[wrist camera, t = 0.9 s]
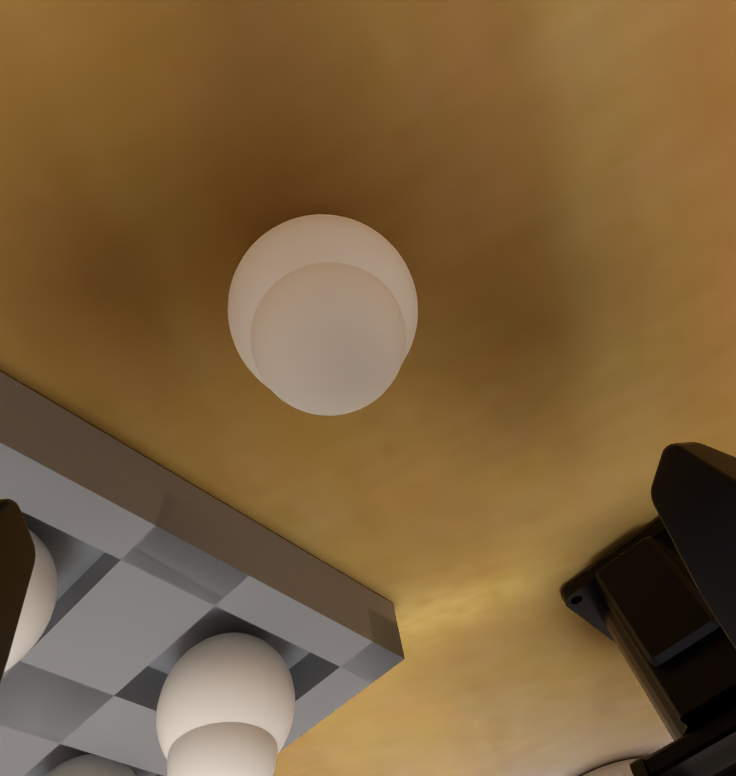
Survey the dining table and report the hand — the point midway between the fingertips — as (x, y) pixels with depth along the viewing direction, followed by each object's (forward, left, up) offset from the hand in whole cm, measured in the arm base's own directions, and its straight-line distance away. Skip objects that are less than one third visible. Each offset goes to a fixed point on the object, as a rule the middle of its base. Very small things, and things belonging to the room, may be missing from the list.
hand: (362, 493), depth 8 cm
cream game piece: (0, 0, -9) cm, 9 cm away
